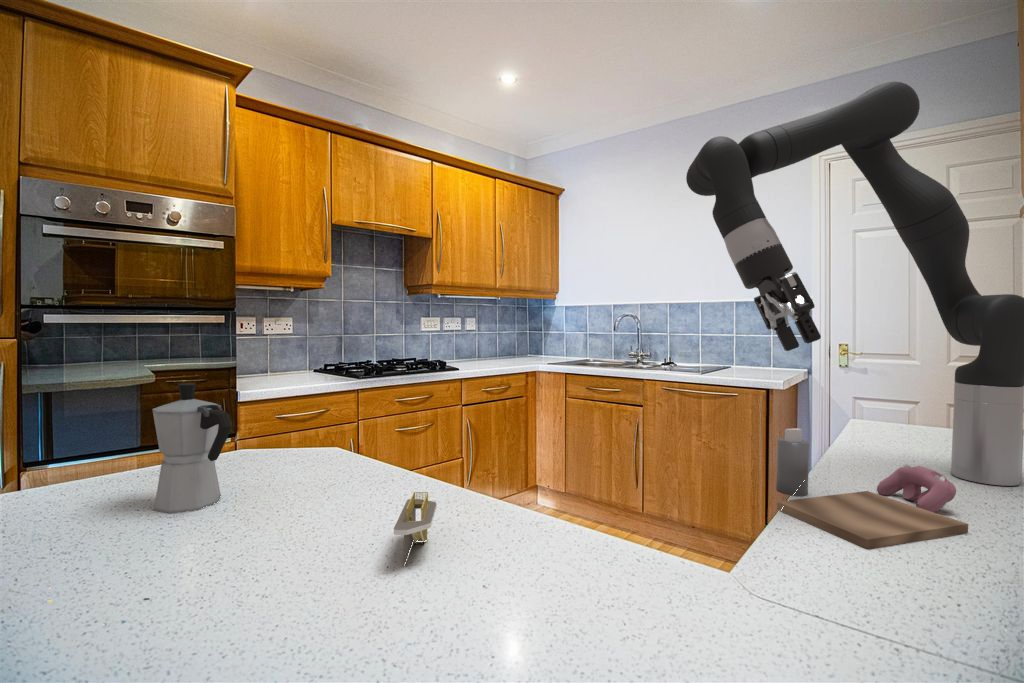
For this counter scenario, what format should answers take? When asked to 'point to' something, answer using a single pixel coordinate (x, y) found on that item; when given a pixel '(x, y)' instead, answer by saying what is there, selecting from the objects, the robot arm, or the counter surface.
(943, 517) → the walnut board
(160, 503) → the coffee maker
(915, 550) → the counter surface
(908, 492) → the video game controller
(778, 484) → the grey cylinder with tab
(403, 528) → the platform
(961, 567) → the counter surface
